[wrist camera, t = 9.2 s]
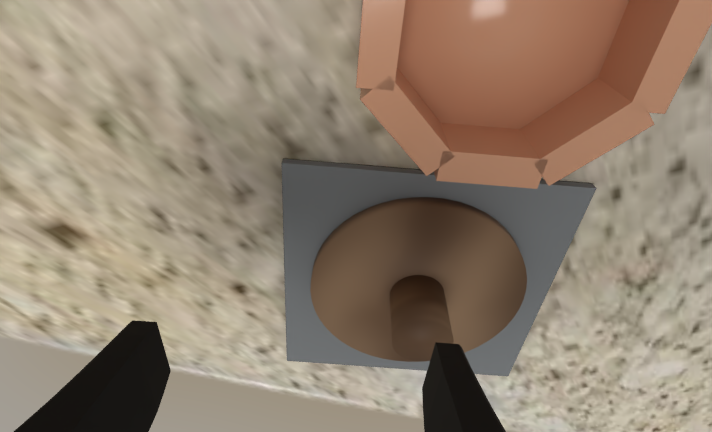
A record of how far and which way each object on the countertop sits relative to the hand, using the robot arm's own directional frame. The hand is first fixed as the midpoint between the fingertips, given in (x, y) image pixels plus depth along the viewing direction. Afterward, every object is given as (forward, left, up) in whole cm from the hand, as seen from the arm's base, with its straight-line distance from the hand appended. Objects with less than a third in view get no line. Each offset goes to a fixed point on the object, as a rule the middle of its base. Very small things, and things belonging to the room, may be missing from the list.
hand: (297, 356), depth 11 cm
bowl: (-6, -7, -10) cm, 14 cm away
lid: (-5, +6, -10) cm, 12 cm away
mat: (-5, +7, -10) cm, 13 cm away
